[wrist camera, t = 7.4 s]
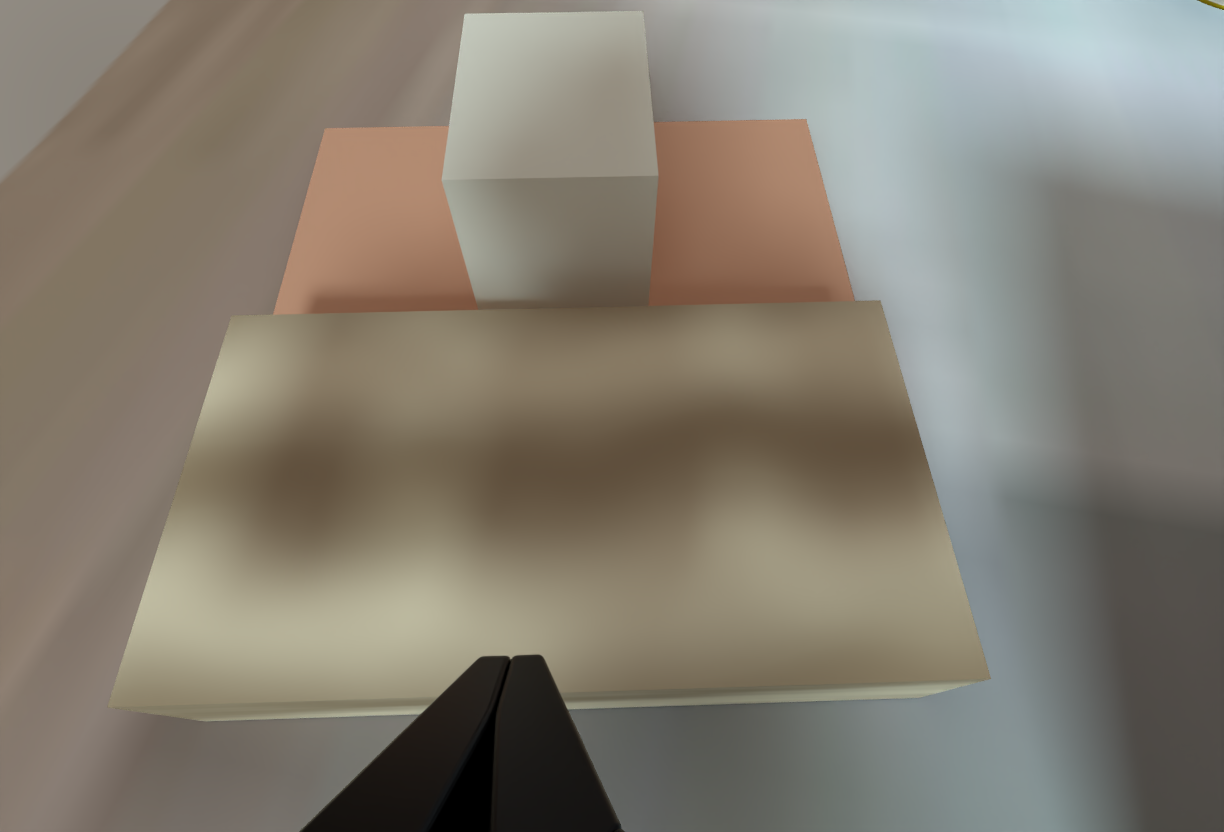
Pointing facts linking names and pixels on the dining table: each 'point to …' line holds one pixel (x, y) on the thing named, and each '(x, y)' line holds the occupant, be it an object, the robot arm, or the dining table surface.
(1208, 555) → the dining table surface
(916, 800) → the dining table surface
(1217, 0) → the chinaware
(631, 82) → the block
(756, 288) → the mat
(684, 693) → the board
